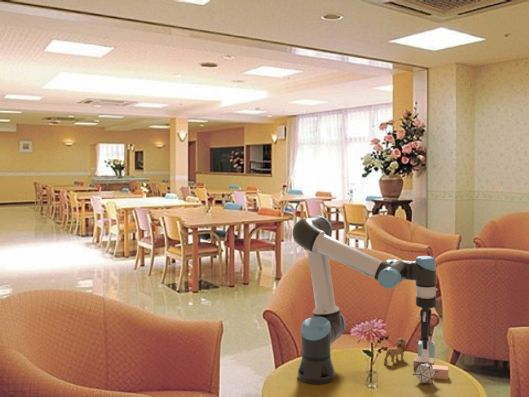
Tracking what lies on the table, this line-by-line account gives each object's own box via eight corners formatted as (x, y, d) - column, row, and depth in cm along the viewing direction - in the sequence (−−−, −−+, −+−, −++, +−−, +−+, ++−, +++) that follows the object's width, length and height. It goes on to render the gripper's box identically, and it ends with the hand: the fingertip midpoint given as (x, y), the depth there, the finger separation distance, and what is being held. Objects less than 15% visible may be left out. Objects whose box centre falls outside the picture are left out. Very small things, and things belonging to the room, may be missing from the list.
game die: (429, 393, 207) (439, 380, 201) (408, 384, 208) (418, 371, 202) (432, 374, 214) (441, 361, 207) (411, 366, 215) (420, 352, 209)
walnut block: (413, 370, 221) (413, 360, 221) (414, 365, 226) (414, 356, 225) (433, 372, 218) (433, 363, 218) (434, 368, 223) (434, 358, 222)
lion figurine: (397, 355, 237) (397, 335, 237) (408, 357, 234) (408, 338, 233) (381, 365, 226) (381, 344, 226) (392, 368, 223) (392, 347, 222)
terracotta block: (432, 378, 213) (432, 368, 212) (432, 374, 216) (432, 364, 216) (448, 379, 211) (448, 370, 211) (447, 375, 215) (447, 366, 215)
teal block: (418, 356, 206) (417, 344, 206) (419, 352, 210) (419, 340, 210) (434, 358, 204) (433, 345, 204) (434, 354, 208) (434, 342, 207)
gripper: (434, 302, 196) (434, 363, 198) (437, 291, 212) (437, 347, 214) (413, 301, 199) (413, 361, 201) (418, 289, 215) (418, 345, 217)
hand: (425, 354), depth 207 cm, fingers closed on teal block, 4 cm apart
